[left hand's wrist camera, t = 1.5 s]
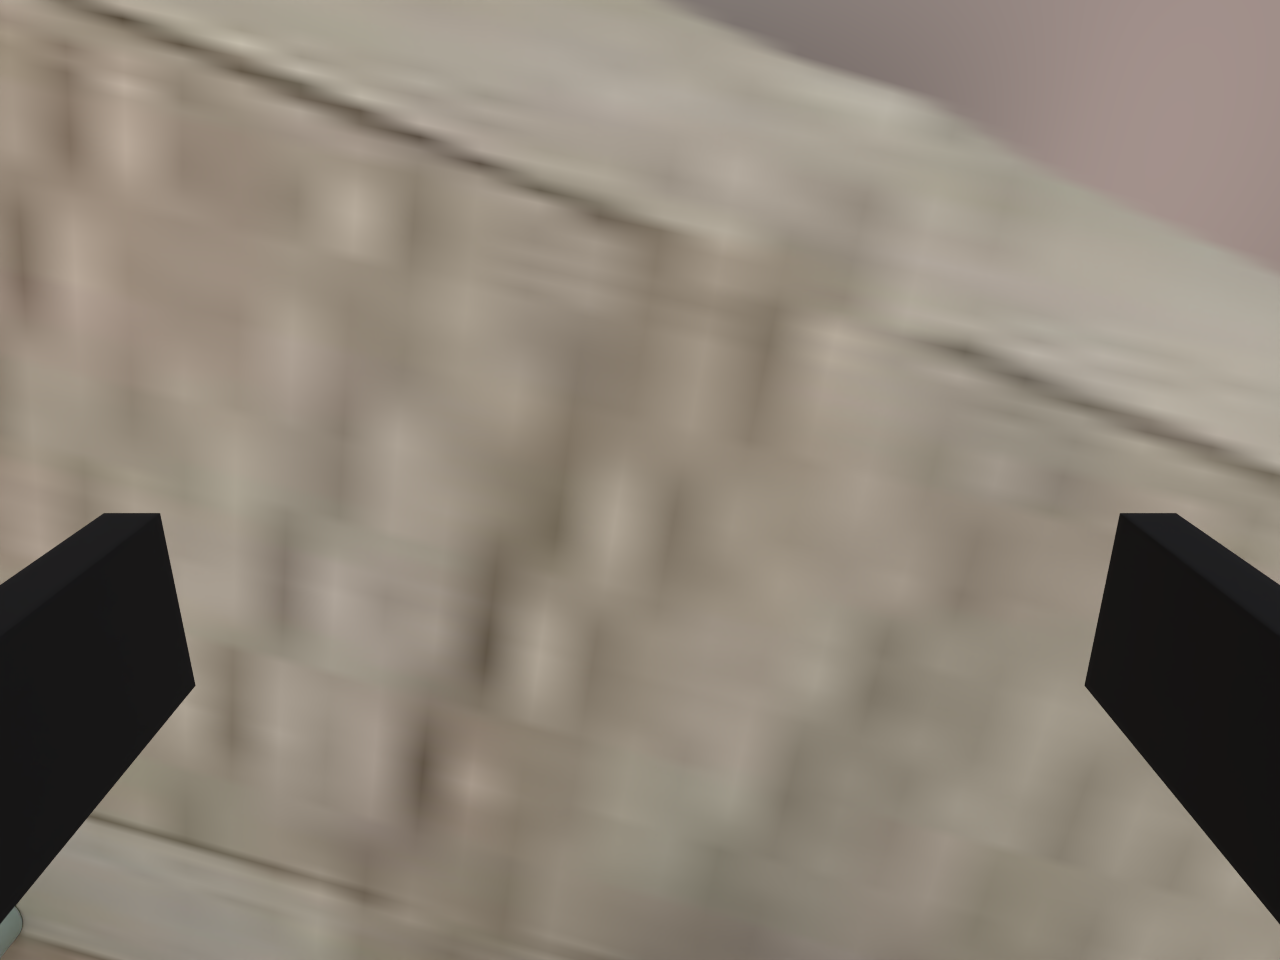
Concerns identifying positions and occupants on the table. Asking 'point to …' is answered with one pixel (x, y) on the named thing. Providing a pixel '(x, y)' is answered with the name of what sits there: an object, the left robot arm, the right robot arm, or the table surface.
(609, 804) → the table surface
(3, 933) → the bottle
